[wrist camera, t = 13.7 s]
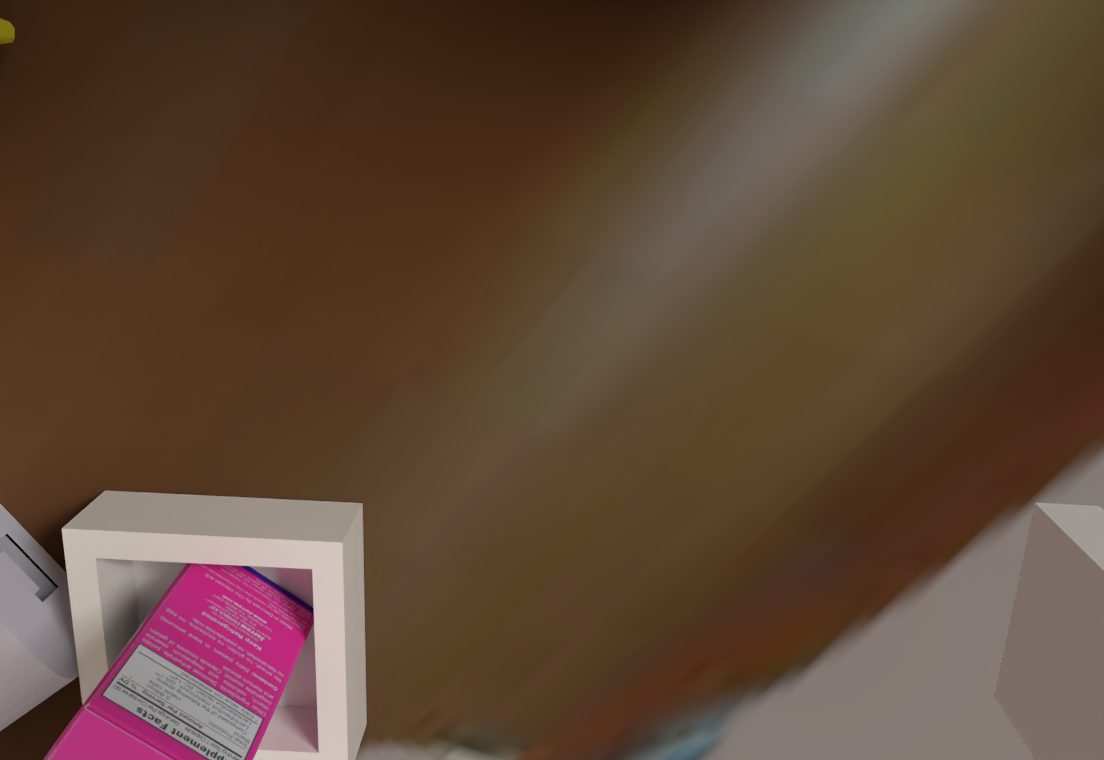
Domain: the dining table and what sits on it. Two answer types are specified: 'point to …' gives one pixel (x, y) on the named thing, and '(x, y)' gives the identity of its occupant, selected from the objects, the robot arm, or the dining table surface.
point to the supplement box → (195, 673)
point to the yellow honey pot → (6, 32)
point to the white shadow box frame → (245, 540)
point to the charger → (31, 624)
